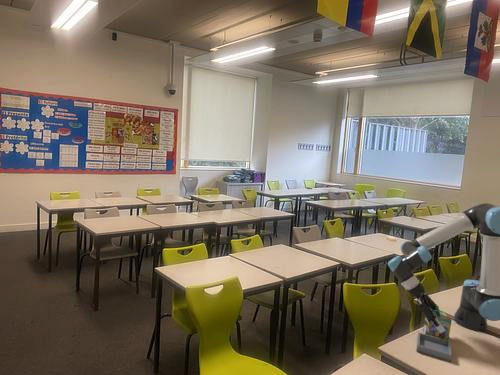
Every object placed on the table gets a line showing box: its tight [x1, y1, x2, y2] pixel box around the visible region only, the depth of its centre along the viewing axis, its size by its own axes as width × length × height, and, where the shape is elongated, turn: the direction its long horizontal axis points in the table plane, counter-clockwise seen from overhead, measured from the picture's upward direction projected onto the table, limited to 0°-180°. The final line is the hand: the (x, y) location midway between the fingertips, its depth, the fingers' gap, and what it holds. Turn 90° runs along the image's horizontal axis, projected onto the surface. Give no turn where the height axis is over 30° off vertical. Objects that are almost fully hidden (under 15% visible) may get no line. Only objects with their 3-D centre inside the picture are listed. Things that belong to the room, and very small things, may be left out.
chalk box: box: [422, 305, 452, 341], centre depth 174 cm, size 9×9×15 cm
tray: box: [416, 332, 453, 363], centre depth 164 cm, size 13×13×3 cm
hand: (443, 326), depth 173 cm, fingers closed on chalk box, 11 cm apart
